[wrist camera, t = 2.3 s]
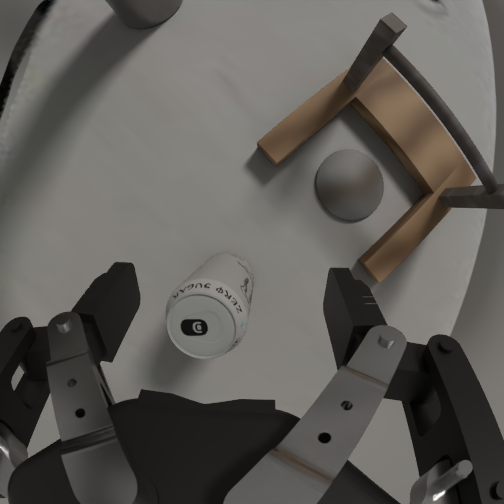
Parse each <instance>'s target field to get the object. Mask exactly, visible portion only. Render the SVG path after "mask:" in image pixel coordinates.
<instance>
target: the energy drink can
mask: <svg viewBox="0 0 504 504" xmlns="http://www.w3.org/2000/svg"><path fill="white" fill-rule="evenodd" d="M253 285H254V276H253V272H252V269H251V267H250V266H249V264H248V263H247V262H246V261H245V260H244V259H243V258H241V257H240V256H237V255H235V254H231V253H221V254H217V255H215V256H213V257H211V258H210V259H209V260H207V261H206V262H205V263H204V264H203V265H202V266H201V267H200V268H198V269H197V270H196V271H195V272H194V273H193V274H192V275H191V276H190V277H188V278H187V279H186V280H185V281H184V282H183V283H182V284H181V285H180V286H178V287H177V288H176V289H175V290H174V291H173V293H172V294H171V296H170V297H169V300H168V303H167V306H166V323H167V331H168V334H169V336H170V338H171V340H172V342H173V343H174V345H175V346H176V347H177V348H178V349H179V350H180V351H182V352H183V353H185V354H186V355H189V356H191V357H194V358H197V359H213V358H217V357H219V356H221V355H223V354H225V353H227V352H228V351H230V350H232V349H233V348H235V347H236V346H237V345H238V344H239V343H240V341H241V340H242V339H243V337H244V335H245V333H246V329H247V325H248V318H249V312H250V305H251V299H252V292H253Z"/></svg>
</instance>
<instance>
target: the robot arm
mask: <svg viewBox="0 0 504 504" xmlns="http://www.w3.org/2000/svg"><path fill="white" fill-rule="evenodd" d="M105 1H106V2H107V3H108V4H109V5H110V6H111V8H112V9H113V10H114V11H115V13H116V14H117V15H118V16H119V17H120V19H121V20H122V21H123V22H124V23H125V25H127V26H128V27H131V28H135V29H142V28H148V27H152V26H155V25H157V24H159V23H161V22H163V21H165V20H166V19H168V18H169V17H171V16H172V15H173V14H174V13H175V12H176V11H177V9H178V8H179V7H180V5H181V3H182V0H105ZM89 287H90V288H88V289H87V290H86V292H85V294H83V296H82V297H81V298H80V299H79V301H78V302H77V303H76V305H75V306H74V308H73V309H72V310H71V312H63V313H60V314H58V315H56V316H55V317H53V318H52V319H51V320H50V322H49V324H48V326H45V327H34V328H33V325H32V323H31V321H30V320H29V319H28V318H27V317H18V318H15V319H13V320H11V321H10V322H8V323H7V324H6V325H5V327H4V328H3V329H2V331H1V332H0V498H8V501H9V504H400V503H399V502H398V501H397V500H395V499H394V498H392V497H391V496H390V495H389V494H388V493H386V492H385V491H384V490H383V489H382V488H380V487H379V486H378V485H377V484H375V483H374V482H373V481H372V480H371V479H369V478H368V477H367V476H366V475H365V474H363V473H362V472H361V471H360V470H359V469H358V468H357V467H355V466H354V465H353V464H352V463H351V462H350V461H349V460H348V458H349V456H350V455H351V453H352V452H353V450H354V449H355V447H356V445H357V444H358V442H359V440H360V439H361V437H362V435H363V433H364V432H365V430H366V428H367V427H368V425H369V423H370V421H371V419H372V418H373V416H374V414H375V412H376V410H377V408H378V406H379V404H380V403H381V401H382V399H383V398H386V399H394V400H400V401H402V404H403V408H404V411H405V415H406V419H407V423H408V427H409V430H410V435H411V439H412V443H413V448H414V452H415V457H416V461H417V466H418V471H419V476H420V478H419V479H418V480H417V481H416V482H415V483H414V485H413V486H412V489H411V492H410V504H504V440H503V437H502V434H501V432H500V429H499V427H498V424H497V422H496V419H495V417H494V414H493V412H492V410H491V407H490V405H489V403H488V400H487V398H486V396H485V394H484V391H483V389H482V387H481V385H480V383H479V381H478V379H477V377H476V375H475V373H474V371H473V369H472V367H471V365H470V363H469V361H468V359H467V357H466V355H465V353H464V351H463V349H462V348H461V346H460V344H459V343H458V342H457V341H456V340H455V339H453V338H451V337H449V336H447V335H440V334H439V335H434V336H432V337H431V338H430V339H429V341H428V343H427V345H422V344H416V343H410V342H407V341H406V338H405V336H404V335H403V333H402V332H400V331H399V330H398V329H396V328H394V327H391V326H387V323H386V321H385V319H384V317H383V315H382V313H381V311H380V309H379V307H378V305H377V304H376V301H375V299H374V297H373V295H372V293H371V291H370V289H369V287H368V286H367V285H365V284H364V283H363V282H362V281H361V280H354V278H353V276H352V274H351V272H350V270H349V268H330V269H329V272H328V278H327V284H326V290H325V296H324V303H323V310H324V316H325V320H326V324H327V328H328V332H329V336H330V340H331V344H332V348H333V352H334V357H335V361H336V365H337V369H338V371H337V373H336V374H335V375H334V377H333V378H332V380H331V381H330V382H329V384H328V385H327V386H326V388H325V389H324V390H323V392H322V393H321V394H320V396H319V397H318V398H317V399H316V401H315V402H314V403H313V405H312V406H311V407H310V408H309V410H308V411H307V412H306V413H305V415H304V416H303V417H302V418H301V419H300V418H298V417H297V416H294V415H292V414H290V413H287V412H284V411H281V410H276V409H275V400H251V399H238V400H232V401H226V402H219V403H211V404H202V403H198V402H195V401H192V400H189V399H186V398H183V397H180V396H177V395H174V394H171V393H163V392H156V391H149V390H143V389H141V391H140V394H139V397H138V398H137V399H130V400H125V401H122V402H119V403H115V401H114V398H113V396H112V393H111V391H110V388H109V386H108V383H107V380H106V378H105V375H104V372H103V370H102V367H101V365H100V362H101V361H107V362H112V361H113V359H114V357H115V355H116V353H117V351H118V349H119V347H120V345H121V343H122V340H123V338H124V336H125V334H126V332H127V330H128V328H129V326H130V324H131V322H132V320H133V318H134V316H135V314H136V312H137V310H138V308H139V306H140V291H139V287H138V282H137V277H136V272H135V267H134V265H133V263H127V262H115V263H114V264H113V265H112V266H111V268H110V269H109V270H108V271H107V273H103V274H102V275H101V276H99V277H98V278H96V279H95V280H94V281H93V283H92V284H91V285H90V286H89ZM19 365H20V367H21V368H22V370H23V371H24V374H23V376H22V378H21V380H20V381H19V383H18V385H17V387H16V389H15V391H14V390H13V388H12V385H11V380H12V376H13V375H14V373H15V371H16V369H17V368H18V366H19ZM50 393H51V398H52V403H53V408H54V413H55V417H56V422H57V426H58V430H59V433H60V439H59V440H57V441H56V442H54V443H53V444H51V445H49V446H48V447H46V448H45V449H43V450H41V451H40V452H38V453H36V454H35V455H33V456H31V457H30V458H28V452H27V447H28V444H29V442H30V439H31V436H32V434H33V432H34V429H35V427H36V424H37V422H38V419H39V417H40V415H41V412H42V410H43V408H44V405H45V403H46V401H47V399H48V397H49V394H50Z"/></svg>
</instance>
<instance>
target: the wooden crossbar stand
mask: <svg viewBox="0 0 504 504" xmlns="http://www.w3.org/2000/svg"><path fill="white" fill-rule="evenodd" d="M406 27H407V25H405V24H404V23H403V22H402V21H401V20H400V19H399V18H398V17H397V16H396V15H394V14H393V13H390V14H388V15H387V16H385V17H383V18H381V19H380V21H379V22H378V24H377V26H376V27H375V29H374V30H373V32H372V34H371V35H370V37H369V38H368V40H367V42H366V43H365V45H364V47H363V48H362V50H361V51H360V53H359V55H358V56H357V58H356V60H355V61H354V63H353V65H352V66H351V67H350V68H349V69H348V70H346V71H345V72H343V73H342V74H341V75H339V76H338V77H337V78H335V79H334V80H333V81H332V82H330V83H329V84H328V85H326V86H325V87H324V88H322V89H321V90H320V91H319V92H317V93H316V94H315V95H314V96H312V97H311V98H310V99H308V100H307V101H306V102H305V103H304V104H302V105H301V106H300V107H299V108H297V109H296V110H295V111H294V112H292V113H291V114H290V115H289V116H288V117H286V118H285V119H284V120H283V121H282V122H280V123H279V124H278V125H277V126H276V127H274V128H273V129H272V130H271V131H270V132H269V133H267V134H266V135H265V136H264V137H263V138H262V139H261V140H259V141H258V142H257V146H258V148H259V149H260V150H261V151H262V152H263V153H264V154H265V155H266V157H267V158H268V159H269V160H270V161H271V162H272V163H273V164H274V165H275V166H278V165H279V164H280V163H281V162H282V161H283V160H284V159H286V158H287V157H288V156H289V155H290V154H291V153H292V152H293V151H295V150H296V149H297V148H298V147H299V146H300V145H302V144H303V143H304V142H305V141H306V140H307V139H309V138H310V137H311V136H312V135H313V134H314V133H316V132H317V131H318V130H319V129H320V128H321V127H323V126H324V125H325V124H326V123H327V122H329V121H330V120H331V119H332V118H333V117H334V116H336V115H337V114H338V113H339V112H341V111H342V110H343V109H344V108H345V107H347V106H348V105H349V104H351V105H352V106H353V107H354V108H355V109H356V110H357V111H358V112H359V114H360V115H361V116H362V117H363V118H364V119H365V120H366V121H367V122H368V123H369V125H370V126H371V127H372V128H373V129H374V130H375V131H376V133H377V134H378V135H379V136H380V137H381V138H382V140H383V141H384V142H385V143H386V144H387V145H388V147H389V148H390V149H391V150H392V152H393V153H394V154H395V155H396V157H397V158H398V159H399V160H400V162H401V163H402V164H403V166H404V167H405V168H406V169H407V171H408V172H409V173H410V175H411V176H412V177H413V179H414V180H415V182H416V183H417V184H418V186H419V187H420V188H421V190H422V191H423V193H424V194H423V195H422V196H421V198H420V199H419V200H418V201H417V202H416V203H415V204H414V205H413V206H412V207H411V208H410V209H409V210H408V211H407V212H406V213H405V214H404V215H403V216H402V217H401V218H400V219H399V220H398V221H397V222H396V223H395V224H394V225H393V226H392V227H391V228H390V229H389V230H388V231H387V232H386V233H385V234H384V235H383V236H382V237H381V238H380V239H379V240H378V241H377V242H376V243H375V244H374V245H373V246H372V247H371V248H370V249H369V250H368V251H366V252H365V253H364V254H363V255H362V256H361V257H360V258H359V259H358V261H359V262H360V263H361V265H362V266H363V267H364V268H365V270H366V271H367V272H368V273H369V275H370V276H371V277H372V278H373V279H374V280H376V281H377V282H379V283H381V282H382V281H383V280H384V279H385V278H386V277H387V276H388V275H389V274H390V273H391V272H392V271H393V270H394V269H395V268H396V267H397V266H398V265H399V264H400V263H401V262H402V261H403V260H404V259H405V258H406V257H407V256H408V255H409V254H410V253H411V252H412V251H413V250H414V249H415V248H416V247H417V246H418V245H419V244H420V243H421V241H422V240H423V239H424V238H425V237H426V236H427V235H428V234H429V233H430V232H431V231H432V230H433V229H434V227H435V226H436V225H437V224H438V223H439V222H440V221H441V220H442V219H443V217H444V216H445V215H446V214H447V213H448V212H449V211H450V209H451V208H452V207H454V208H488V209H489V208H490V209H504V184H497V182H496V180H495V178H494V176H493V175H492V173H491V171H490V169H489V167H488V166H487V164H486V162H485V161H484V159H483V157H482V156H481V154H480V152H479V151H478V149H477V148H476V146H475V145H474V143H473V141H472V140H471V138H470V137H469V135H468V134H467V132H466V131H465V130H464V128H463V127H462V125H461V124H460V122H459V121H458V120H457V118H456V117H455V116H454V114H453V113H452V111H451V110H450V109H449V108H448V106H447V105H446V104H445V102H444V101H443V100H442V99H441V97H440V96H439V95H438V94H437V92H436V91H435V90H434V89H433V88H432V86H431V85H430V84H429V83H428V82H427V81H426V79H425V78H424V77H423V76H422V75H421V74H420V73H419V71H418V70H417V69H416V68H415V67H414V66H413V65H412V64H411V63H410V62H409V61H408V60H407V59H406V58H405V57H404V56H403V55H402V54H401V53H400V52H399V51H398V50H397V49H396V48H395V47H394V46H393V44H394V42H395V41H396V40H397V39H398V37H399V36H400V35H401V34H402V32H403V31H404V30H405V29H406ZM383 56H384V57H385V58H386V59H387V60H388V61H389V62H390V63H391V64H392V65H393V66H394V67H395V68H396V69H397V70H398V71H399V72H400V73H401V74H402V75H403V76H404V77H405V78H406V80H407V81H408V82H409V83H410V84H411V85H412V86H413V87H414V88H415V90H416V91H417V92H418V93H419V94H420V95H421V97H422V98H423V99H424V100H425V101H426V103H427V104H428V105H429V106H430V108H431V109H432V110H433V111H434V113H435V114H436V115H437V116H438V118H439V119H440V120H441V122H442V123H443V124H444V126H445V127H446V128H447V130H448V131H449V133H450V134H451V135H452V137H453V138H454V140H455V141H456V142H457V144H458V145H459V147H460V148H461V150H462V151H463V153H464V154H465V156H466V158H467V159H468V161H469V162H470V164H471V165H472V167H473V169H474V170H475V172H476V174H477V175H478V177H479V179H480V180H481V182H482V184H483V185H480V186H471V184H472V183H473V182H474V181H475V179H476V176H475V175H474V173H473V171H472V170H471V168H470V167H469V165H468V163H467V162H466V160H465V159H464V157H463V156H462V154H461V153H460V151H459V150H458V148H457V147H456V145H455V144H454V142H453V141H452V139H451V138H450V137H449V135H448V134H447V132H446V131H445V130H444V128H443V127H442V126H441V124H440V123H439V122H438V120H437V119H436V118H435V116H434V115H433V114H432V113H431V111H430V110H429V109H428V108H427V106H426V105H425V104H424V103H423V102H422V100H421V99H420V98H419V97H418V96H417V94H416V93H415V92H414V91H413V90H412V89H411V88H410V86H409V85H408V84H407V83H406V82H405V81H404V80H403V79H402V78H401V77H400V75H399V74H398V73H397V72H396V71H395V70H394V69H393V68H392V67H391V66H390V65H389V64H388V63H387V62H386V61H385V60H384V59H383V58H382V57H383ZM316 188H317V193H318V196H319V198H320V201H321V202H322V204H323V205H324V207H325V208H326V209H327V210H328V211H329V212H330V213H332V214H333V215H335V216H337V217H339V218H342V219H346V220H359V219H362V218H365V217H367V216H368V215H370V214H371V213H372V212H374V211H375V209H376V208H377V207H378V205H379V204H380V202H381V199H382V196H383V190H384V184H383V178H382V174H381V172H380V170H379V168H378V166H377V165H376V164H375V162H374V161H373V160H372V159H371V158H370V157H368V156H367V155H365V154H363V153H361V152H359V151H355V150H341V151H338V152H335V153H333V154H331V155H330V156H329V157H327V158H326V159H325V160H324V162H323V163H322V164H321V166H320V168H319V170H318V173H317V178H316Z"/></svg>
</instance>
